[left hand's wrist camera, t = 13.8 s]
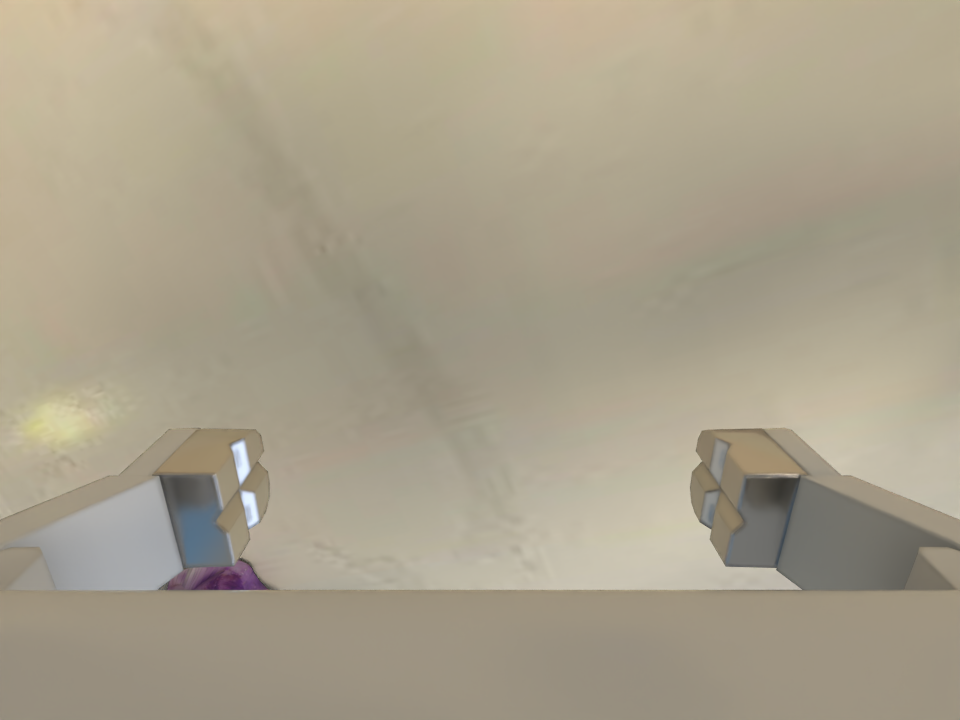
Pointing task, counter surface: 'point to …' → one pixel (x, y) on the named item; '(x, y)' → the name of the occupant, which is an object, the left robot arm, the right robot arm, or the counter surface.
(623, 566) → the counter surface
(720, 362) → the counter surface
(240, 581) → the figurine
